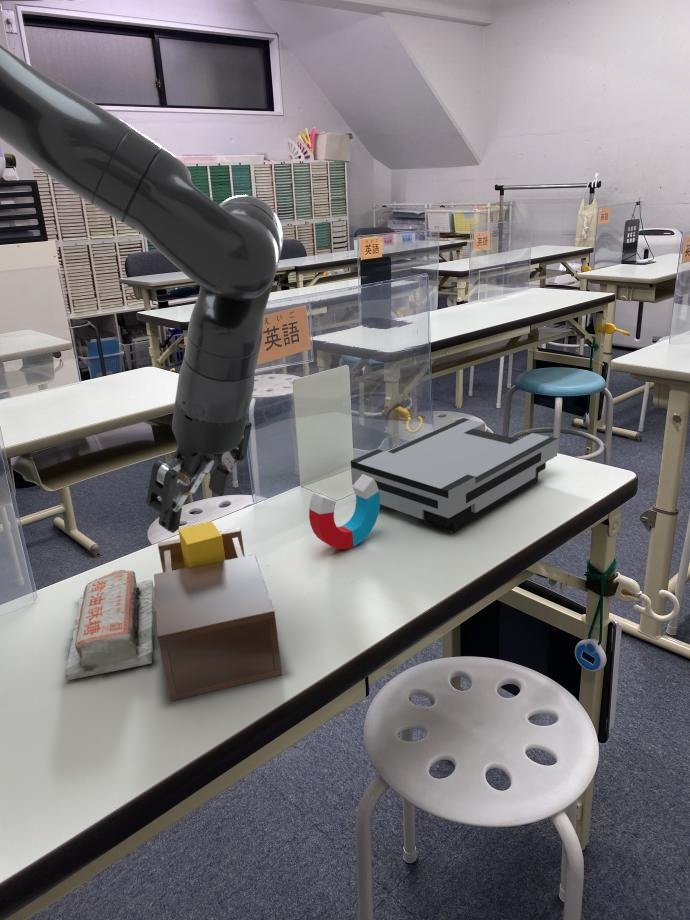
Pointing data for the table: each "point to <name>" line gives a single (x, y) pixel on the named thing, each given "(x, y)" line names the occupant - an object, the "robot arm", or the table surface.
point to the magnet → (359, 522)
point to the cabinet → (215, 627)
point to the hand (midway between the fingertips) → (193, 509)
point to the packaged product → (112, 626)
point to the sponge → (201, 544)
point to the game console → (455, 472)
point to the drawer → (174, 557)
